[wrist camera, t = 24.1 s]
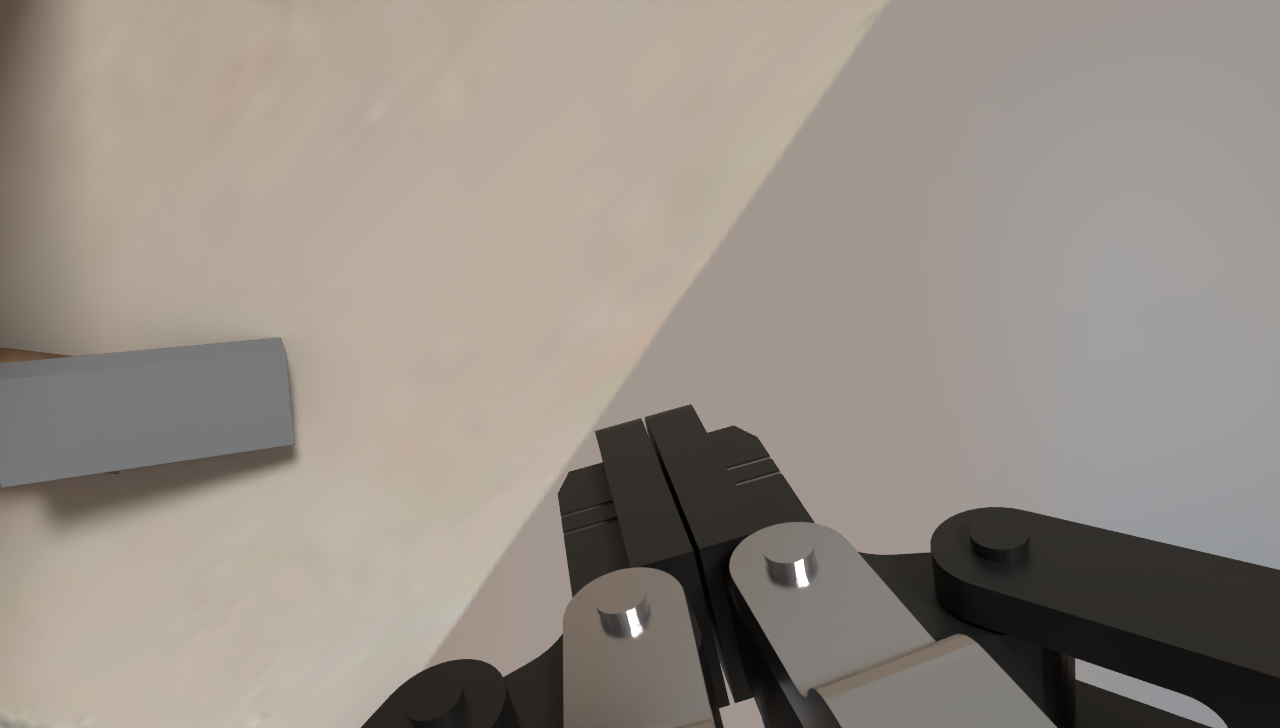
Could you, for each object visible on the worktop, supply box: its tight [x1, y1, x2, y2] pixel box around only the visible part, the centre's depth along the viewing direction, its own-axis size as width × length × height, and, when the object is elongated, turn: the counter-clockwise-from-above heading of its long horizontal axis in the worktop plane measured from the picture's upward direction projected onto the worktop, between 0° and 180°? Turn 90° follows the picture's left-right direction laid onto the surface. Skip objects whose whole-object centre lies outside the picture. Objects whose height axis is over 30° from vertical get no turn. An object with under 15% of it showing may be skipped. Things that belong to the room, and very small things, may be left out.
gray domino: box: [0, 338, 294, 488], centre depth 39 cm, size 2×5×12 cm
